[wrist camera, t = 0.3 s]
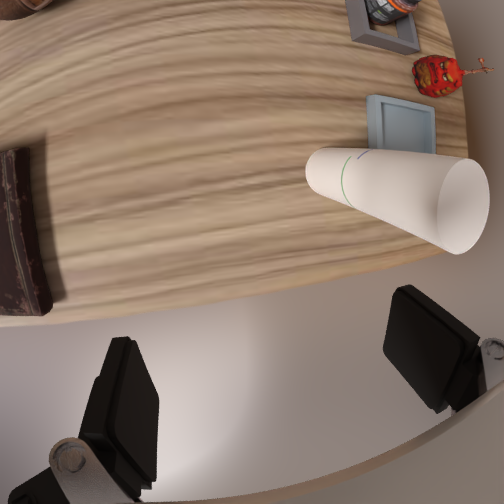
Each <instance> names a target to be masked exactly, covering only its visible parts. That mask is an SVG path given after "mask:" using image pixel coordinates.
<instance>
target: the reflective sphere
mask: <svg viewBox="0 0 504 504" xmlns="http://www.w3.org/2000/svg"><path fill="white" fill-rule="evenodd" d="M52 1H53V0H0V20H17V19H21V18H25V17H27V16H30V15H32V14H34V13H36V12H38V11H39V10H41V9H43V8H44V7H45V6H47V5H48V4H49V3H50V2H52Z"/></svg>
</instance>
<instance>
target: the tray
mask: <svg viewBox="0 0 504 504" xmlns="http://www.w3.org/2000/svg"><path fill="white" fill-rule="evenodd" d="M366 105H367V123H368V149H384V150H397V151H409V152H419V153H428V154H436V133H435V112H434V107H430V106H426V105H422V104H418V103H414V102H410V101H406V100H401V99H396V98H391V97H386V96H381V95H376V94H374V95H370V96H366Z"/></svg>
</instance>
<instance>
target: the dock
mask: <svg viewBox="0 0 504 504" xmlns="http://www.w3.org/2000/svg"><path fill="white" fill-rule="evenodd" d="M345 2H346V8H347V13H348V19H349V25H350V31H351V38H352V41H355V42H359V43H363V44H368V45H372V46H376V47H379V48H383V49H387V50H390V51H393V52H397V53H400V54H403V55H407V54H411V53H414V52H417V51H420V49H419V43H418V38H417V33H416V28H415V24H414V19H413V15H412V12H411V13H409V14H407V15H404V16H402V17H400V18H398V19H396V20H395V23H396V28H397V33H398V38H396V37H393V36H390V35H387V34H384V33H380V32H377V31H374V30H370V28H369V22H368V17H367V12H366V7H365V2H364V0H345Z"/></svg>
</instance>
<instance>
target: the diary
mask: <svg viewBox="0 0 504 504" xmlns="http://www.w3.org/2000/svg"><path fill="white" fill-rule="evenodd" d="M52 308H53V302H52V298H51V295H50V292H49V288H48V285H47V281H46V278H45V274H44V270H43V266H42V261H41V256H40V251H39V245H38V239H37V233H36V226H35V220H34V214H33V208H32V201H31V193H30V177H29V148H16V149H11V150H8V151H5V152H1V153H0V315H8V316H44V315H45V314H47V313H48V312H50V310H51V309H52Z"/></svg>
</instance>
